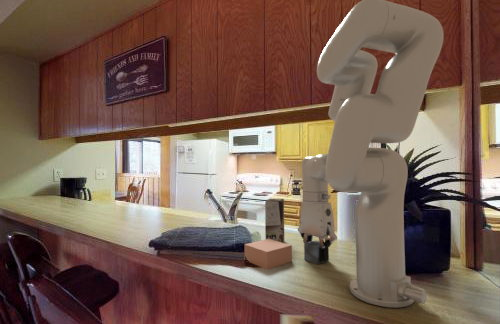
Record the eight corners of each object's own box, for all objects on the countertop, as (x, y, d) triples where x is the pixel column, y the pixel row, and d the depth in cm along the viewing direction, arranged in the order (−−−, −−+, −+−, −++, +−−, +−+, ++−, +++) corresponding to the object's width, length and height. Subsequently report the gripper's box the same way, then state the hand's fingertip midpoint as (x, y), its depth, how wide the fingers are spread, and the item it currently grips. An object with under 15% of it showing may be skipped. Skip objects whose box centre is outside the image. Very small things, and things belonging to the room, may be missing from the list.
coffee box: (283, 246, 94) (282, 201, 95) (265, 246, 95) (264, 200, 96) (284, 240, 103) (284, 198, 104) (268, 239, 104) (267, 198, 105)
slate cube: (328, 260, 79) (328, 243, 79) (317, 264, 76) (316, 246, 76) (316, 256, 83) (315, 240, 83) (304, 259, 80) (304, 242, 81)
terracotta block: (291, 262, 79) (291, 245, 79) (267, 270, 73) (266, 251, 73) (268, 254, 87) (268, 238, 87) (244, 261, 80) (244, 244, 81)
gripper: (347, 198, 75) (348, 264, 75) (304, 194, 89) (305, 249, 89) (329, 200, 71) (330, 269, 70) (287, 196, 85) (288, 253, 85)
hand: (316, 257), depth 80 cm, fingers closed on slate cube, 5 cm apart
